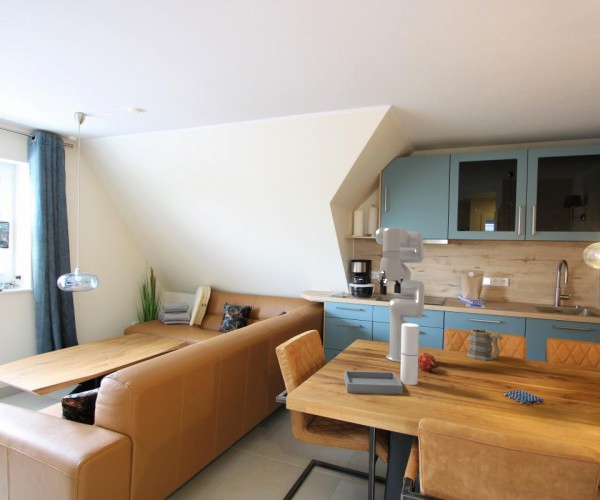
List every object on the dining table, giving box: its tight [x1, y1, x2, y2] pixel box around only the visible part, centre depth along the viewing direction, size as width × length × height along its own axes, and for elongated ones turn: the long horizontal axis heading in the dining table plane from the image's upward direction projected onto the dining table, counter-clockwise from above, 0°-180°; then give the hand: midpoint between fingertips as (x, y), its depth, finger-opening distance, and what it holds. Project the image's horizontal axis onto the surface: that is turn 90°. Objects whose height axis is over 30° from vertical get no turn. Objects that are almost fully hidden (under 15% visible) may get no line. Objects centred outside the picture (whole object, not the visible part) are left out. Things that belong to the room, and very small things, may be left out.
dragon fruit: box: [418, 352, 440, 373], centre depth 183 cm, size 8×8×12 cm
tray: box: [343, 370, 404, 395], centre depth 162 cm, size 16×22×4 cm
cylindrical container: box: [399, 322, 420, 386], centre depth 167 cm, size 7×7×25 cm
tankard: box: [466, 328, 504, 361], centre depth 204 cm, size 20×13×15 cm, turn 17°
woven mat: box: [503, 389, 545, 406], centre depth 151 cm, size 10×11×2 cm
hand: (390, 293), depth 170 cm, fingers open, 9 cm apart
